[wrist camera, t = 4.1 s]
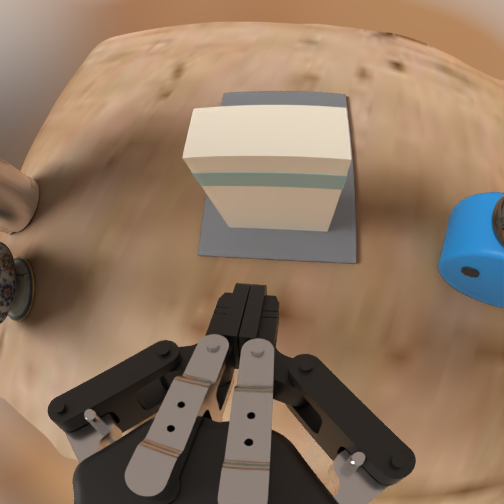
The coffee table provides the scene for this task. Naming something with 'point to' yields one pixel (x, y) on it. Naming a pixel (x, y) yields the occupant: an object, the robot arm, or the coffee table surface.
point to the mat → (277, 240)
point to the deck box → (271, 163)
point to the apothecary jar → (15, 285)
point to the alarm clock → (476, 248)
